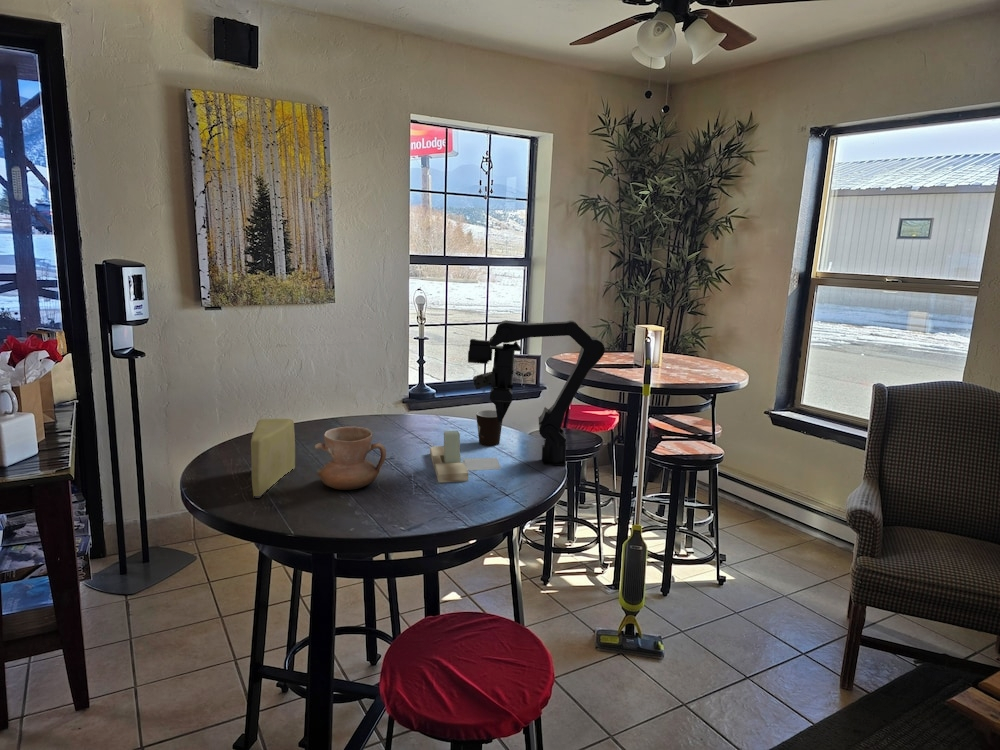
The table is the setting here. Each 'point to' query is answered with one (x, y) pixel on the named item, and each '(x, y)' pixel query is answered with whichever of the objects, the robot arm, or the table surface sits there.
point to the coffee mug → (488, 428)
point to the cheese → (271, 452)
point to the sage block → (451, 447)
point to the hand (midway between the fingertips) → (500, 417)
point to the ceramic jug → (349, 458)
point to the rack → (447, 467)
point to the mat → (482, 464)
